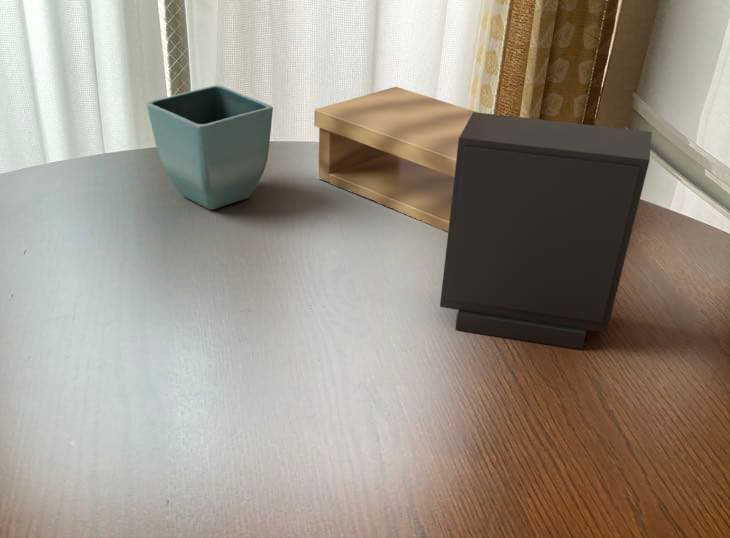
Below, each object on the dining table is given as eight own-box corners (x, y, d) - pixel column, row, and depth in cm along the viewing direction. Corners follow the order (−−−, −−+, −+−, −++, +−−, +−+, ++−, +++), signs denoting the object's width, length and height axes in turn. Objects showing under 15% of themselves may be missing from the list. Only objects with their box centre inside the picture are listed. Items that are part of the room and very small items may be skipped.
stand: (553, 212, 91) (566, 139, 87) (476, 247, 85) (486, 170, 80) (391, 153, 103) (395, 86, 98) (313, 179, 97) (314, 109, 92)
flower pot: (206, 223, 88) (200, 125, 82) (153, 196, 93) (143, 101, 87) (277, 200, 92) (275, 106, 86) (223, 175, 97) (218, 83, 91)
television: (601, 353, 71) (649, 162, 61) (436, 327, 74) (457, 139, 64) (607, 312, 76) (652, 129, 67) (452, 288, 79) (474, 109, 69)
